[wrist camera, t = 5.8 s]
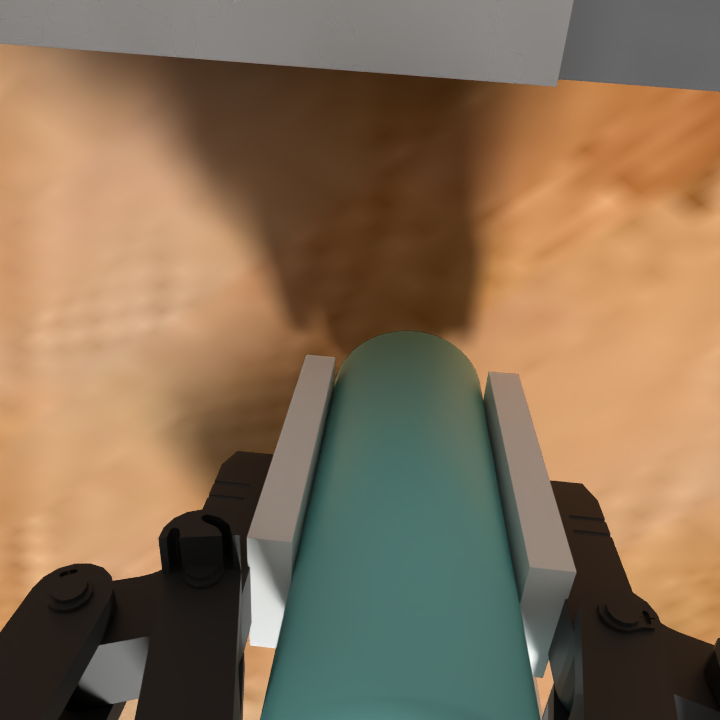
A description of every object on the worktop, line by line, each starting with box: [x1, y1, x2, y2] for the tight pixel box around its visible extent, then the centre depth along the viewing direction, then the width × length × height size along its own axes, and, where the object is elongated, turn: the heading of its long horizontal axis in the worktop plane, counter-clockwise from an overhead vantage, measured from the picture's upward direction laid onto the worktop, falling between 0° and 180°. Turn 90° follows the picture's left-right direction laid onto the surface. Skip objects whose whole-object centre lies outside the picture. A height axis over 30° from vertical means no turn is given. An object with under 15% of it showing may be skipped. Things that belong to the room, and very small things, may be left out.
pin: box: [260, 331, 541, 720], centre depth 13 cm, size 4×4×10 cm
